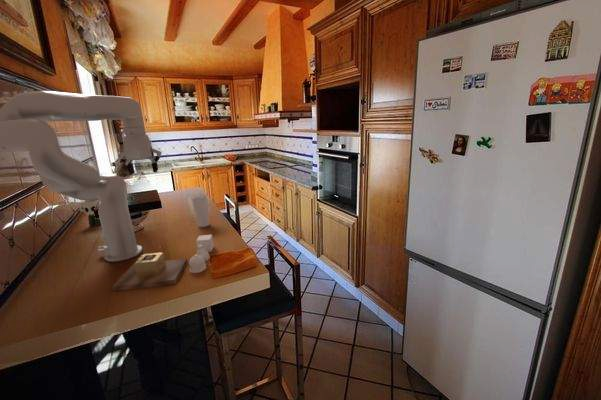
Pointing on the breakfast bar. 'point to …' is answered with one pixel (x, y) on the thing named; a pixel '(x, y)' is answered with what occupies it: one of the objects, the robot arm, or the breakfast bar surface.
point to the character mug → (90, 211)
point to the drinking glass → (201, 209)
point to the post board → (165, 278)
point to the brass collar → (150, 265)
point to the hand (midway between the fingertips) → (143, 172)
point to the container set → (201, 253)
